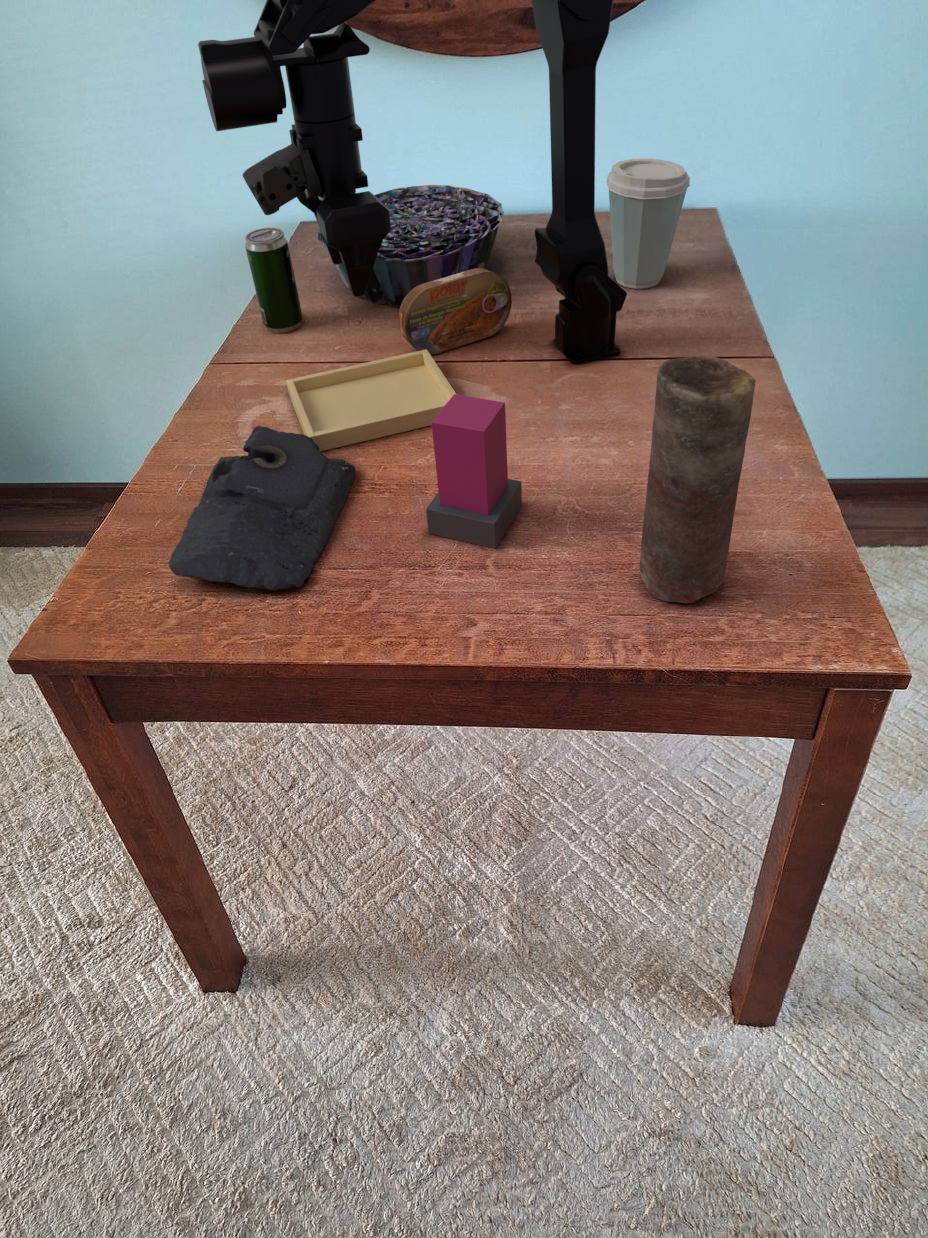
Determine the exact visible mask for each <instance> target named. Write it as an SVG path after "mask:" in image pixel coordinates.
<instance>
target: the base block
mask: <svg viewBox="0 0 928 1238" xmlns="http://www.w3.org/2000/svg"><path fill="white" fill-rule="evenodd" d="M522 489H523V488H522V481H521V480H515V479H511V478H508V486H507V487H506V489H505V490H504V492H503V493H502V495H501V496H500V498H499V500H498V501H497V503H496V504H495V506H494V507H493V509H492V510H491V512H490V514H489V515H486V514H481V513H476V512H472V511H467V510H462V509H458V508H453V507H448V506H444V505H440V501H439V491H438V492H437V493H436V494H435V496H434V497H433V499H432V500H431V501H430V503H429V504H428V505H427V506H426V508H425V513H426V522H427V530H428V535H433V536H437V537H442V538H446V539H451V540H455V541H459V542H465V543H468V544H473V545H478V546H481V547H486V548H491V549H497V548H498V547H499V544H500V543H501V541H502V539H503V538H504V536H505V534H506V533H507V531H508V529H509V527H511V525H512V523H513V521H514V519H515V518H516V517H517V515H518V513H519V512H520V510H521V508H522V507H523V499H522V498H523V496H522V495H523V494H522Z"/></svg>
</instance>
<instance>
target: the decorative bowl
mask: <svg viewBox="0 0 928 1238" xmlns="http://www.w3.org/2000/svg"><path fill="white" fill-rule="evenodd" d="M373 195H374V196H376V197H377V198H378V199H379V200H380V201H381V202H382V203H383V204H384V206H385V207H386V208H387V209H388V210H389V216H390V225H391V231H390V232H389V233H388V234H387V237H386V238H384V239H383V241H382V244H381V247H380V249H379V252H378V255H377V257H376V260H375V263H374V266H373V269H372V273H371V276H370V279H369V282H368V285H367V288H366V292H365V294H364V295H363V296H360V298H364V299H366V301H367V302H369V303H371V304H377V305H385V304H388V305H389V306H392V307H396V308H397V307H398V308H400V306H401V304H402V302H403V300H404V298H405V297H406V295H407V294H408V293H409V292H410V291H411V290H412V289H413V288H415V287H416V286H418V285H421V284H423V283H427V282H430V281H434V280H437V279H441V278H444V277H447V276H451V275H454V274H457V273H460V272H464V271H467V270H471V269H475V268H483V269H487V268H488V265H489V260H490V258H491V254H492V251H493V249H494V245H495V240H496V237H497V234H498V231H499V227H500V225H501V224H502V223H503V222H504V219H503V216H504V213H505V212H504V210H503V204H502V202H500V201H498V200H497V199H495V198H494V197H492V196H491V195H490V194H488V193H485V192H481V191H477V190H474V189H471V188H467V187H460V186H459V187H458V186H454V185H447V184H446V185H445V184H423V185H413V186H405V187H398V188H393V189H389V190H386V191H382V192H379V193H376V194H373ZM318 230H319V231H317V239H318V241H320V242H321V243H322V245H323V247H324V248H325V250H326V252H327V254H328V256H329V258H330V259H331V257H330V254H329V251H328V249H327V246H326V243H325V241H324V239H323V237H322V235H321V230H320V228H318ZM331 261H332V259H331ZM333 265H334V267H335V269H336V271H337V273H338V274H339V277H340V278H341V280H342V282H343V284H344V285H345V286H346V288H347V289H348V290H349V291H350V292H352V290H351V287H350V284H349V281H348V278H347V275H346V272H345V268H344V265H343V263H342V264H337V265H335V264H333Z"/></svg>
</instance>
